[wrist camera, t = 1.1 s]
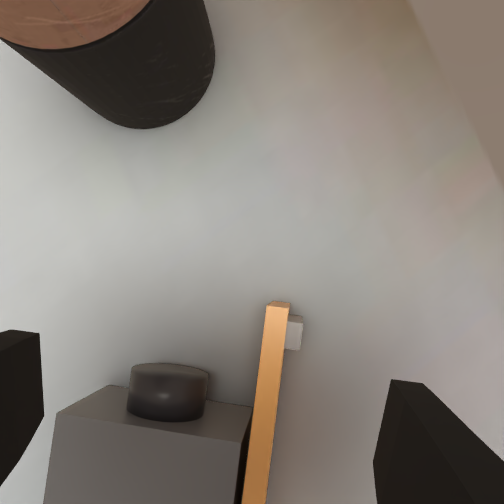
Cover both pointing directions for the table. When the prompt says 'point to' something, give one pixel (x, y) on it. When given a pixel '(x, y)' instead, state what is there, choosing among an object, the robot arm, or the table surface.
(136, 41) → the travel mug
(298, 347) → the side door
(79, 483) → the camera housing
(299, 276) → the table surface
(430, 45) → the table surface
